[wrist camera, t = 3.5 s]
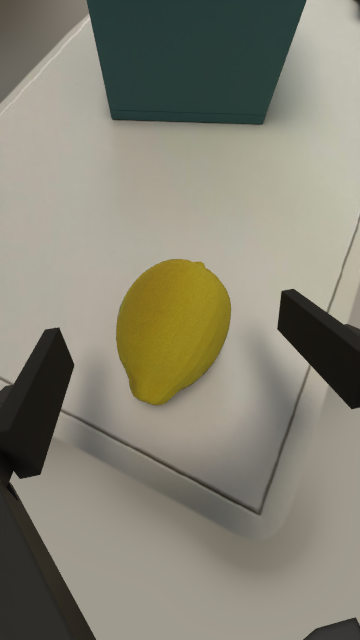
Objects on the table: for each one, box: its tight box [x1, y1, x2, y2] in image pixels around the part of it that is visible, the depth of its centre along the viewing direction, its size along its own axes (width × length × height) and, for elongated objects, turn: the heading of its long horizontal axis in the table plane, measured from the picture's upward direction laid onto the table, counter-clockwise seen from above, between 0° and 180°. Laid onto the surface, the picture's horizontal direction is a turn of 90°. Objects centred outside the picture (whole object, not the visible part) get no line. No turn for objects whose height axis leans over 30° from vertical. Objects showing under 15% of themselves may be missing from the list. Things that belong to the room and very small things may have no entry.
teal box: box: [87, 0, 306, 124], centre depth 25 cm, size 17×15×10 cm
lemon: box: [116, 259, 231, 405], centre depth 18 cm, size 11×8×8 cm
